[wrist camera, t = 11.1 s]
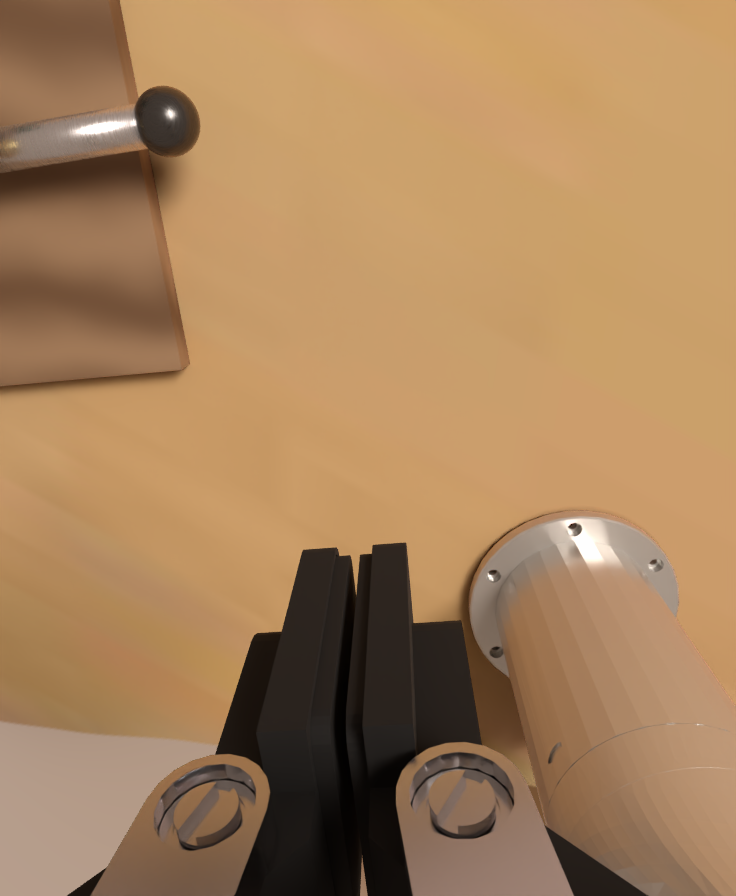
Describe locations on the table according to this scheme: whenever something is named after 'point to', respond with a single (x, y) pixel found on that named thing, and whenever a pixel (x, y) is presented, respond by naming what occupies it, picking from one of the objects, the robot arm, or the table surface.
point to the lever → (104, 132)
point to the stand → (79, 212)
